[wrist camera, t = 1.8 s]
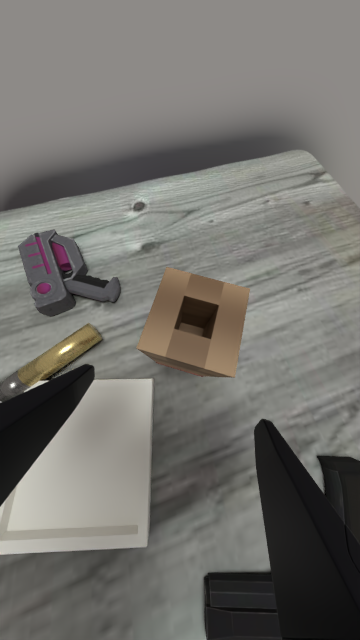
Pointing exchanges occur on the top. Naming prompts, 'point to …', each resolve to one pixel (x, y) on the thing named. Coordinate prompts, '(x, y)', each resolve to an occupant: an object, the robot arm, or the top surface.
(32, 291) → the toy gun
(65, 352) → the bullet cartridge
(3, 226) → the top surface
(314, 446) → the top surface
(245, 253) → the top surface
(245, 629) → the handgun
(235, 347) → the brown tall hollow block
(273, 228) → the top surface
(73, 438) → the tray
